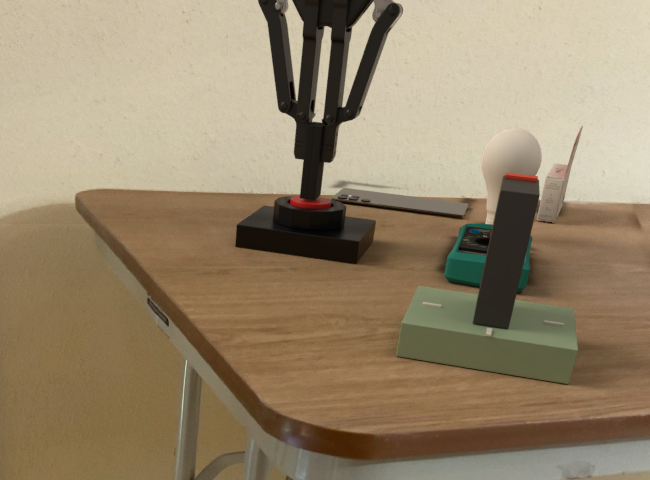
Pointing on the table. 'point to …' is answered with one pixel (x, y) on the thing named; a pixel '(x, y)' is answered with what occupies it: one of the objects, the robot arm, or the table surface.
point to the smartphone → (401, 202)
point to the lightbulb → (508, 162)
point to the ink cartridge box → (555, 188)
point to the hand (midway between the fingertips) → (310, 196)
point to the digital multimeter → (475, 256)
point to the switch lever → (507, 249)
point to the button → (311, 202)
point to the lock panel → (489, 336)
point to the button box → (306, 232)
